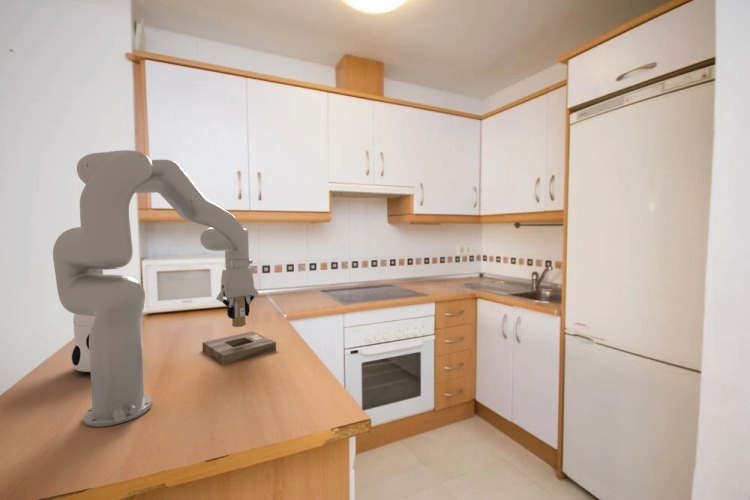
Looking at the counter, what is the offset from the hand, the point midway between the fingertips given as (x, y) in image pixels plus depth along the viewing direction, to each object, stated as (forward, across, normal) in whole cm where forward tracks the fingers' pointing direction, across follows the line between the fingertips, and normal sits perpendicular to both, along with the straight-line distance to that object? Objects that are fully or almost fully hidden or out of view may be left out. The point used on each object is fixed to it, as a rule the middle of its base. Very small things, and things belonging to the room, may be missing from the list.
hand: (238, 316), depth 118 cm
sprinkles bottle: (+4, 0, 0) cm, 4 cm away
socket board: (+12, 0, 0) cm, 12 cm away
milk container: (+12, +34, -15) cm, 39 cm away
